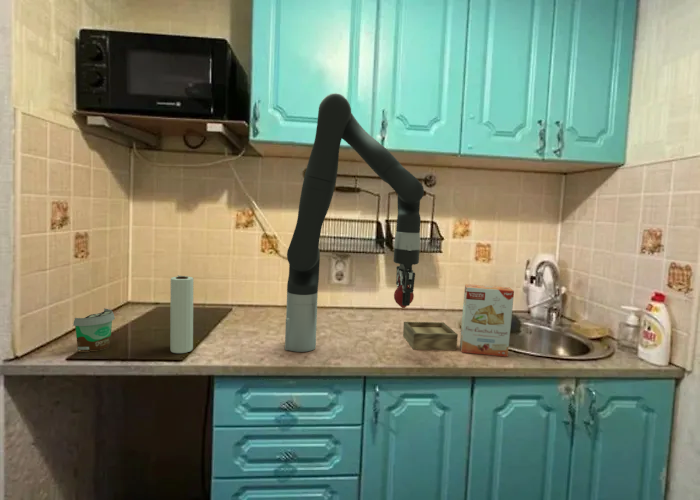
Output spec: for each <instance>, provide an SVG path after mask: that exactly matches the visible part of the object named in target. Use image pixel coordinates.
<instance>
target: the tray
mask: <svg viewBox="0 0 700 500" xmlns="http://www.w3.org/2000/svg"><path fill="white" fill-rule="evenodd" d="M402 330H403V332H402V336H403V338H404V340H405V341H406V342H407V343H408V344H409V346H410V347H411V349H412V350H417V351H418V350H420V351H421V350H423V351H425V350H426V351H427V350H431V351H432V350H434V351H435V350H436V351H437V350H438V351H439V350H440V351H441V350H442V351H443V350H444V351H447V350H449V351H456V350H457V349H458V348H457V347H458V333H457V332H455V331H454V330H453V329H452V328H451V327H450V326H448V325H447V324H446V323H445V322H442V321H441V322H440V321H438V322H437V321H403V329H402Z"/></svg>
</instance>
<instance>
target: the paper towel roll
mask: <svg viewBox="0 0 700 500" xmlns="http://www.w3.org/2000/svg"><path fill="white" fill-rule="evenodd" d="M169 306H170V311H169V312H170V315H169V316H170V317H169V318H170V327H169V328H170V329H169V330H170V331H169V332H170V337H169V338H170V339H169V340H170V349H169V350H170V352H171V353H173V354H186V353H188V352H191V351H193V350H194V277H192V276H188V275H187V276H185V275H177V276H173V277H170V305H169Z"/></svg>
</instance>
